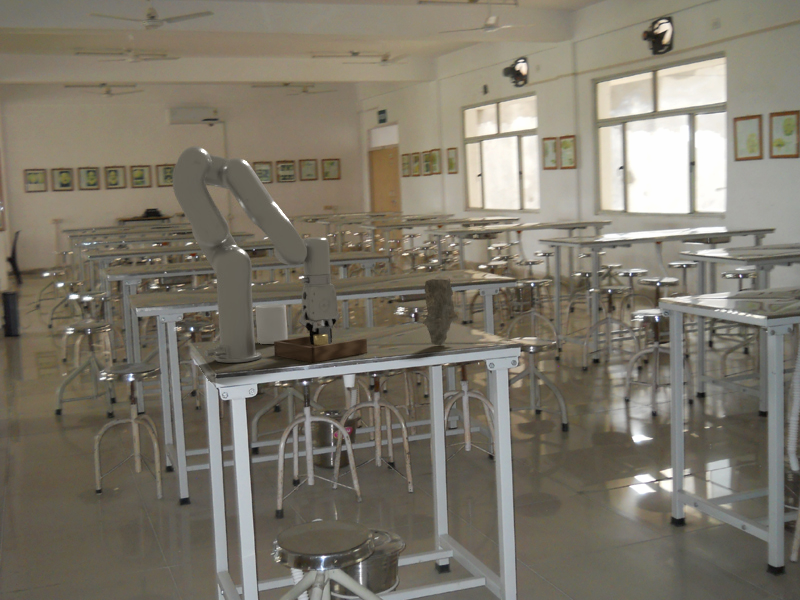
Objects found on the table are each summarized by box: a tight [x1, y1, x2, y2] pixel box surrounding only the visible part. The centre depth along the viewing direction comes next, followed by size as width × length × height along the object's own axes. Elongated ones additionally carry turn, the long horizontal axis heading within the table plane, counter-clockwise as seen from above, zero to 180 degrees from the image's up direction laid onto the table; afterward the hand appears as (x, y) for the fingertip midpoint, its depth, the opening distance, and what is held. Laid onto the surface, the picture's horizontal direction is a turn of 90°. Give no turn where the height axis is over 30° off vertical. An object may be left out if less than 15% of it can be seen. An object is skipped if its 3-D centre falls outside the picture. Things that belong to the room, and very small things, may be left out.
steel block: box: [316, 324, 332, 344], centre depth 236 cm, size 4×4×5 cm
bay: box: [273, 335, 368, 363], centre depth 232 cm, size 19×18×4 cm
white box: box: [255, 303, 288, 345], centre depth 257 cm, size 10×12×12 cm
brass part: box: [314, 334, 328, 347], centre depth 229 cm, size 4×4×6 cm
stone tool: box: [422, 276, 459, 346], centre depth 238 cm, size 12×6×20 cm, turn 118°
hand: (321, 342), depth 236 cm, fingers closed on steel block, 4 cm apart
